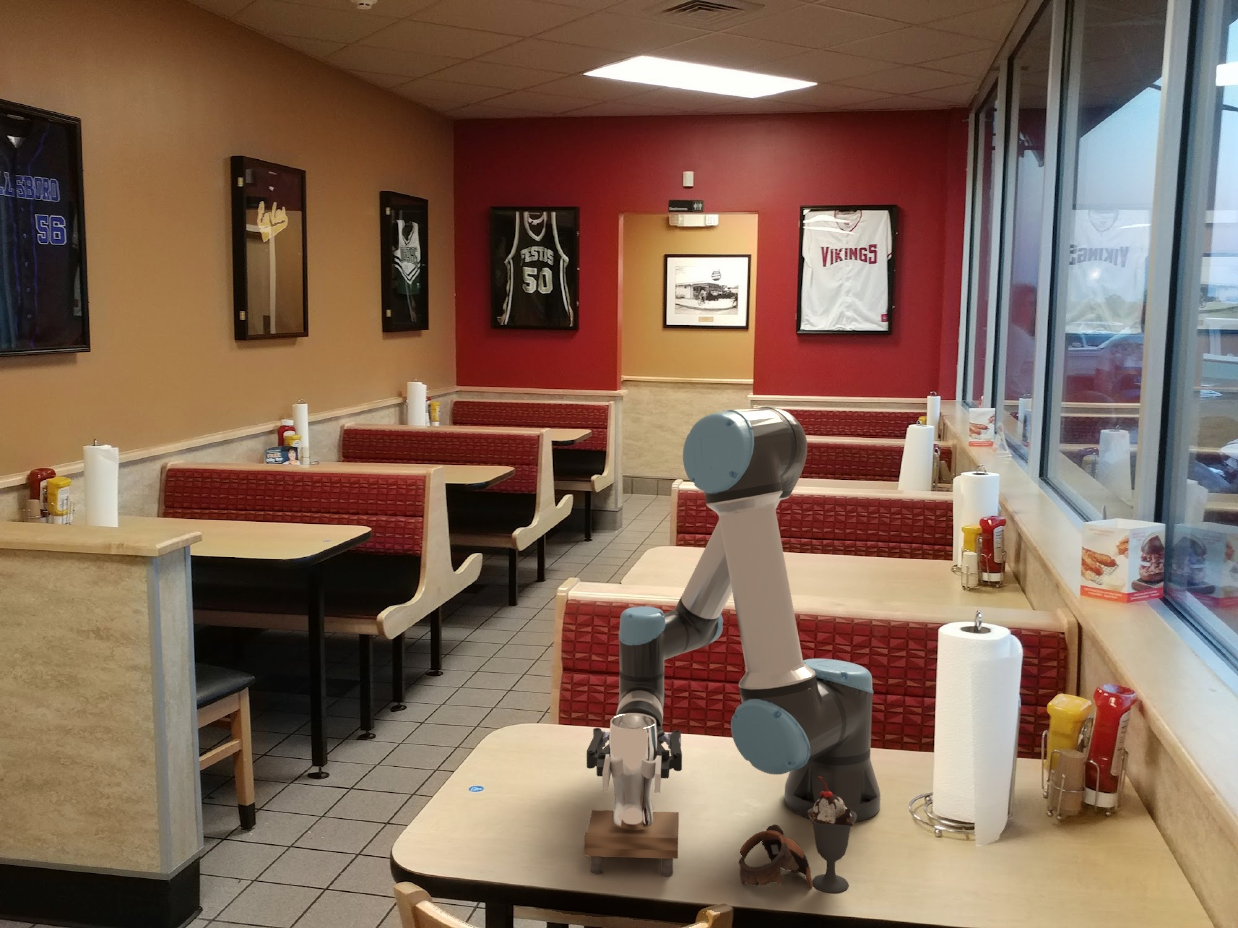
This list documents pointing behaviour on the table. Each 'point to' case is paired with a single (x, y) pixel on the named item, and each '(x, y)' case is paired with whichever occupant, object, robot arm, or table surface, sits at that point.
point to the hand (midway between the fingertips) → (631, 782)
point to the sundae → (831, 837)
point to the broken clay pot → (773, 858)
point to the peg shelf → (632, 840)
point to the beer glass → (633, 769)
